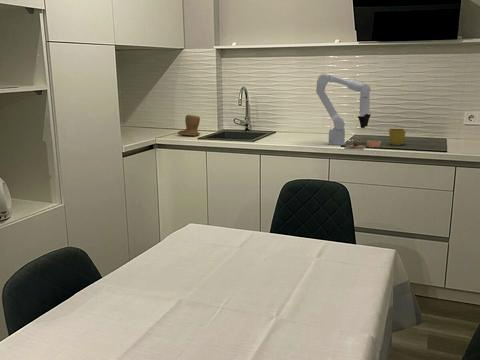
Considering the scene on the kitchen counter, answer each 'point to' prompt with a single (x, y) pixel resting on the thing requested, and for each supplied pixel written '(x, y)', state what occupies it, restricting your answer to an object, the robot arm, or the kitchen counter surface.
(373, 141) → the bowl
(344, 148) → the mat
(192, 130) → the brown hat
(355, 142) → the lid
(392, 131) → the flower pot
